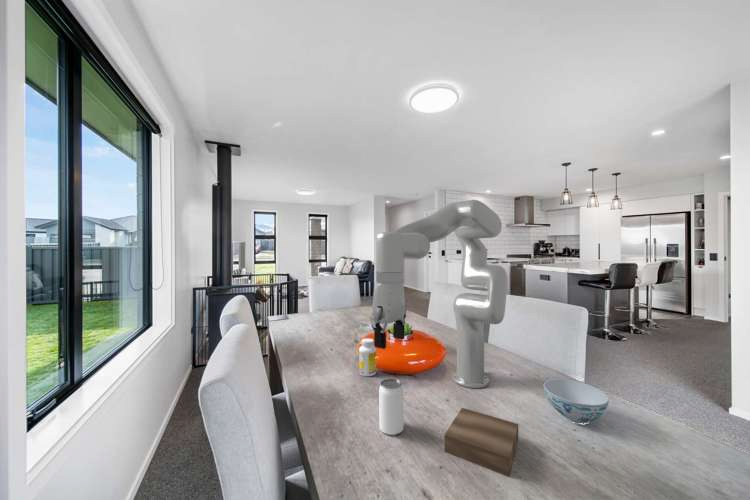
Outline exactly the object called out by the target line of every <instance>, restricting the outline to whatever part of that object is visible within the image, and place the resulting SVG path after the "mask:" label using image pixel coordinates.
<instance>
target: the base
mask: <svg viewBox="0 0 750 500" xmlns="http://www.w3.org/2000/svg"><path fill="white" fill-rule="evenodd" d="M443 439H444V441H443V442H444V445H443V446H444V448H443V449H444V452H445V453H447V454H449V455H451V456H455V457H458V458H460V459H462V460H464V461H467V462H469V463H472V464H475V465H477V466H480V467H483V468H485V469H488V470H490V471H493V472H495V473H498V474H501V475H504V476H506V477H508V478H510V477H511V473H512V468H513V464H514V459H515V456H516V451H517V447H518V444H519V423H516V422H513V421H509V420H506V419H502V418H499V417H496V416H493V415H489V414H485V413H483V412H479V411H475V410H472V409H469V408H465V407H461V408H460V410H459V411H458V413H457V414H456V416H455V418H454V419H453V420H452V422H451V424H450V425H449V427H448V429H447V430H446V431H445V433H444V438H443Z"/></svg>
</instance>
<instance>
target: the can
mask: <svg viewBox="0 0 750 500" xmlns="http://www.w3.org/2000/svg"><path fill="white" fill-rule="evenodd" d="M378 410H379V411H378V417H379V418H378V419H379V420H378V424H379V430H380V431H381V432H382V433H383V434H385V435H388V436H397V435H399V434H401V433H402V432H403V430H404V388H403V383H402V381H400V380H399V379H395V378H385V379H383V380H382V381H381V382H380V385H379V388H378Z"/></svg>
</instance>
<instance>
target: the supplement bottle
mask: <svg viewBox="0 0 750 500" xmlns="http://www.w3.org/2000/svg"><path fill="white" fill-rule="evenodd" d="M358 349H359V350H358V356H359V357H358V360H359V361H358V363H359V364H358V366H359V367H358V369H359V375H361V376H362V377H373V376H375V375H376V374H377V372H378V371H377V368H378V367H376V365H377V362H376V363H375V357H376V358H377V347H375V346H374V339H373V338H363V339H361V346H360V347H359V348H358Z"/></svg>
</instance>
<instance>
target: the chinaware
mask: <svg viewBox="0 0 750 500" xmlns="http://www.w3.org/2000/svg"><path fill="white" fill-rule="evenodd" d="M543 389H544V393H545V395H546V398H547V400H548V401H549V403H550V405H551V406H552V407H553V408H554V410H556V411H557V412H558V413H559V414H560V416H561V417H563V418H562V419H564V418H565V419H566V420H568V421H571V422H575V423H583V424H584V423H588V422H589V421H590V422H593V421H595V420H597V419H599V418H600V417H602V416H603V415H604V413H605V412H606V411H607V409H608V406H609V403H610V398H609V396H608V394H606V393H605V392H604V391H602V390H601V389H599V388H598V387H595V386H593V385H591V384H589V383H585V382H582V381H578V380H577V381H576V380H572V379H565V378H553V379H547V380H545V382H544V383H543ZM565 419H564V420H565ZM566 420H565V421H566ZM568 421H567V422H568ZM571 422H570V423H571Z"/></svg>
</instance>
